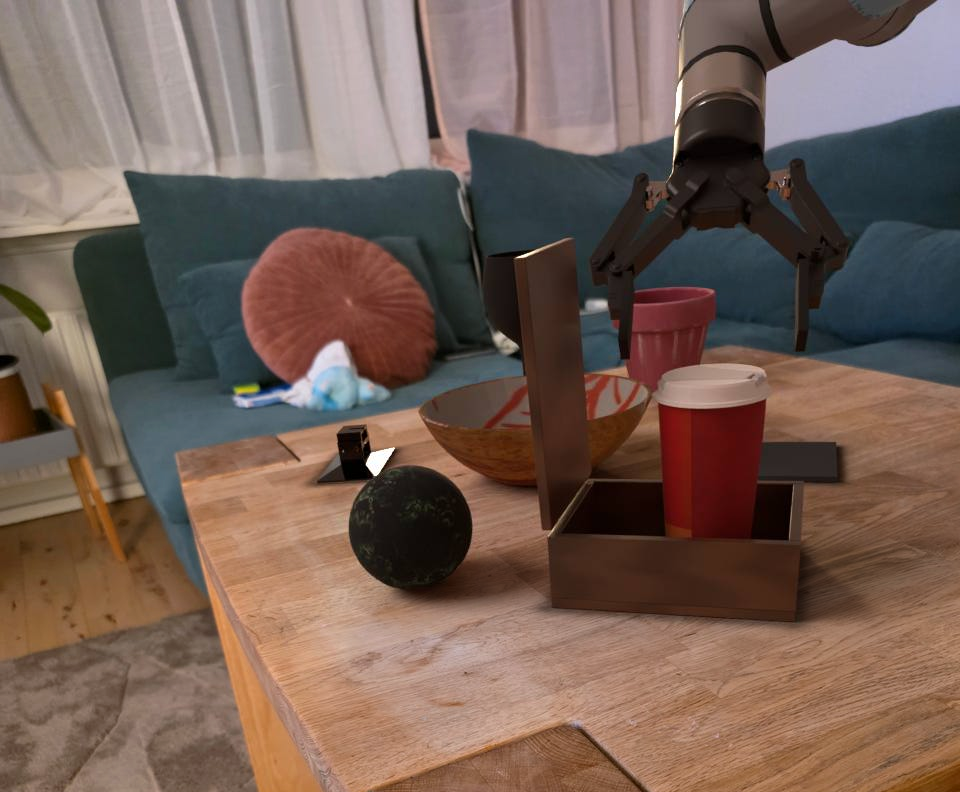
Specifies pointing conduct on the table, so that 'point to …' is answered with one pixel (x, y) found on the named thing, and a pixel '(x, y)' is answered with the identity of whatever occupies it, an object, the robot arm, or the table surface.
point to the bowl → (527, 423)
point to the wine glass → (503, 295)
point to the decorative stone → (410, 527)
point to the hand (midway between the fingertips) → (710, 346)
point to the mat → (798, 462)
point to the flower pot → (668, 330)
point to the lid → (554, 374)
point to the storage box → (674, 555)
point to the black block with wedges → (355, 457)
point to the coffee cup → (711, 448)
